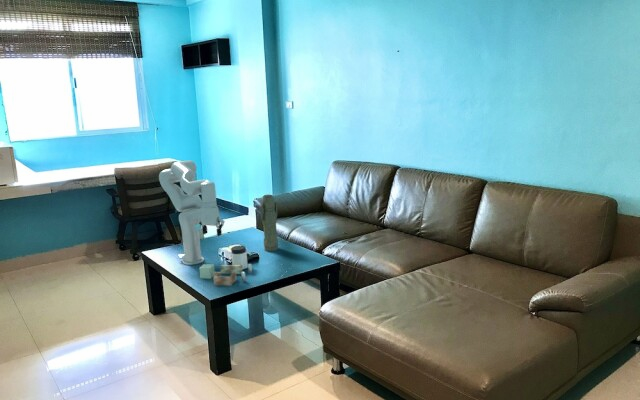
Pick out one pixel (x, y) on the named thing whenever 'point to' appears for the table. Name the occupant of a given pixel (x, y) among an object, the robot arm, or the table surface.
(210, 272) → the block
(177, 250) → the table surface
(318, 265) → the table surface
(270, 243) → the olive brown statue
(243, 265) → the jar
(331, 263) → the table surface
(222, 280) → the tunnel
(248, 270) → the goal posts
